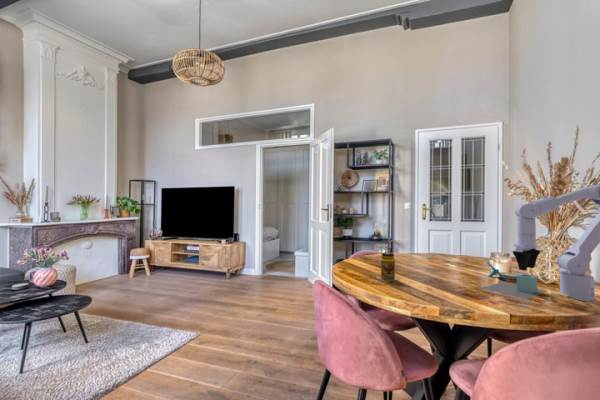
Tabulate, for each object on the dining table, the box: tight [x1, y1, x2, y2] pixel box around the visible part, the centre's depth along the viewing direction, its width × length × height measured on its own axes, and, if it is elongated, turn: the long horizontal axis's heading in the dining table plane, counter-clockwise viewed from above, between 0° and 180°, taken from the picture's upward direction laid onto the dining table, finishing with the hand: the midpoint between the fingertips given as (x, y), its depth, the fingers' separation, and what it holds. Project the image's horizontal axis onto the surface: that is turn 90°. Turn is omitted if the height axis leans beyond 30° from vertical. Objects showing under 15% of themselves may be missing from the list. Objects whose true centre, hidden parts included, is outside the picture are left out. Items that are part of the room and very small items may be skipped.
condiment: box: [374, 252, 400, 282], centre depth 142 cm, size 7×8×12 cm
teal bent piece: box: [486, 262, 507, 280], centre depth 142 cm, size 11×6×10 cm
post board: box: [480, 281, 546, 300], centre depth 121 cm, size 16×18×5 cm
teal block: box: [516, 273, 538, 294], centre depth 118 cm, size 5×5×6 cm
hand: (526, 268), depth 120 cm, fingers open, 7 cm apart
